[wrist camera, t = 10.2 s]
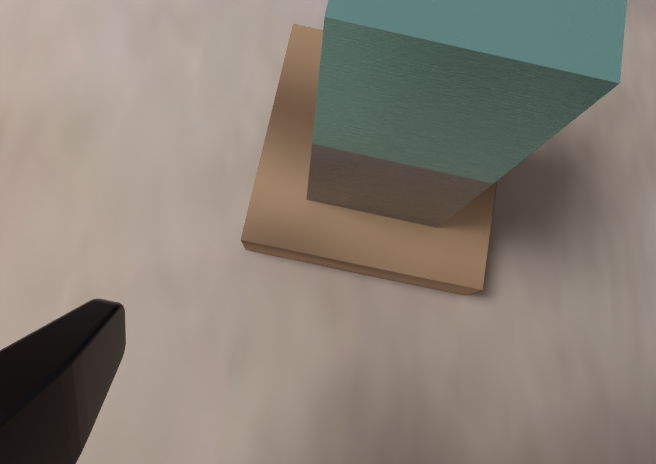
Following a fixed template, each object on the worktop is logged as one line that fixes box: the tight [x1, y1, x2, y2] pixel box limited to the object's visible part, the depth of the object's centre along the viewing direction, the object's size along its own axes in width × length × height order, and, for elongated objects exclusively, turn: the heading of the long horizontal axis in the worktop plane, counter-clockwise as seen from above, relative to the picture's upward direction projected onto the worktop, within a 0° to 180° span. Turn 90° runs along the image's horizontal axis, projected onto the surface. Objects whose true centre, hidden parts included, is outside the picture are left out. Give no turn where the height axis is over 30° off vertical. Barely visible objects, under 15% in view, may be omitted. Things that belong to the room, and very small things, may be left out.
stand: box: [241, 24, 497, 295], centre depth 21 cm, size 9×9×2 cm
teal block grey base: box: [306, 0, 627, 228], centre depth 14 cm, size 5×5×11 cm
